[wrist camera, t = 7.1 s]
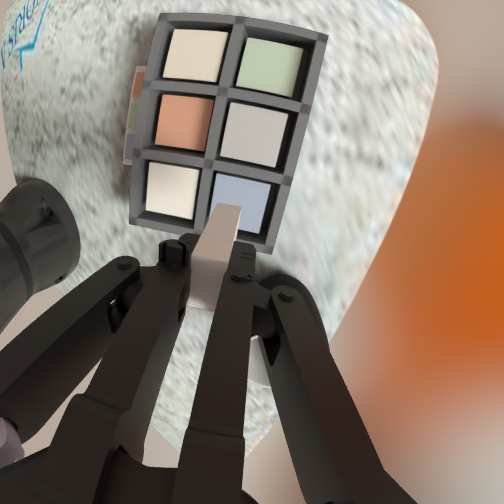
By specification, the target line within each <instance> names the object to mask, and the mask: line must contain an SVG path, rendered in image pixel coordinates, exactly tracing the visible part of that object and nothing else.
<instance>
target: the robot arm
mask: <svg viewBox="0 0 504 504" xmlns="http://www.w3.org/2000/svg"><path fill="white" fill-rule="evenodd" d="M241 208H242V207H240V206H234V205H229V204H223V203H217V205H216V207H215V209H214V211H213V213H212V215H211V217H210V219H209V220H208V222H207V224H206V226H205V228H204V230H203V232H202V234H201V235H197V234H192V233H186V234H184V235H182V236H181V237H180V238H179V240H174V239H171V240H165V241H162V242H161V243H160V244H159V261H158V263H157V265H156V266H149V267H148V266H140V262H139V261H138V259H136V258H134V257H131V256H121V257H117V258H115V259H113V260H112V261H110V262H109V263H108V264H106V265H105V266H103V267H102V268H101V269H99V270H98V271H97V272H95V273H94V274H93V275H91V276H90V277H89V278H87V279H86V280H85V281H83V282H82V283H81V284H79V285H78V286H77V287H75V288H74V289H73V290H71V291H70V292H69V293H68V294H66V295H65V296H64V297H63V298H61V299H60V300H59V301H58V302H56V303H55V304H54V305H53V306H51V307H50V308H49V309H48V310H47V311H45V312H44V313H43V314H42V315H41V316H40V317H38V318H37V319H36V320H35V321H33V322H32V323H31V324H30V325H29V326H28V327H26V328H25V329H24V330H23V331H22V332H21V333H20V334H19V335H17V336H16V337H15V338H14V339H13V340H12V341H11V342H10V343H9V344H7V345H6V346H5V347H4V348H3V349H2V350H1V351H0V504H258V503H257V501H256V500H254V499H253V498H252V497H251V496H250V495H249V494H248V493H246V492H245V491H244V490H242V479H243V466H244V454H245V439H244V437H243V427H244V415H245V404H246V392H247V380H248V367H249V355H250V343H251V333H252V334H255V335H257V336H258V342H259V345H260V349H261V353H262V356H263V360H264V364H265V367H266V371H267V374H268V378H269V382H270V385H271V389H272V392H273V396H274V400H275V403H276V407H277V410H278V414H279V417H280V420H281V424H282V427H283V431H284V434H285V438H286V441H287V445H288V448H289V452H290V455H291V458H292V462H293V465H294V468H295V472H296V475H297V478H298V481H299V485H300V488H301V491H302V494H303V496H304V499H305V501H306V503H307V504H417V503H416V502H415V501H414V500H413V499H412V498H411V497H410V496H409V495H408V494H407V493H406V492H405V491H404V490H403V489H402V488H401V487H400V486H399V485H398V483H397V482H396V481H395V480H394V479H393V478H392V477H390V475H389V474H387V472H386V471H385V470H384V469H383V466H382V464H381V462H380V459H379V457H378V455H377V453H376V450H375V448H374V446H373V444H372V441H371V439H370V437H369V435H368V432H367V430H366V428H365V426H364V423H363V421H362V419H361V417H360V415H359V413H358V411H357V408H356V406H355V404H354V402H353V400H352V397H351V395H350V393H349V391H348V389H347V387H346V385H345V383H344V380H343V378H342V376H341V374H340V372H339V370H338V368H337V366H336V364H335V361H334V359H333V357H332V355H331V353H330V351H329V349H328V347H327V345H326V343H325V341H324V339H323V337H322V335H321V333H320V331H319V329H318V327H317V325H316V322H315V320H314V318H313V316H312V314H311V312H310V310H309V308H308V306H307V304H306V302H305V300H304V298H303V296H302V295H301V294H300V292H299V291H297V290H296V289H294V288H292V287H289V286H283V285H282V286H276V287H274V288H273V289H272V291H271V290H268V289H266V288H264V287H262V286H260V285H259V284H258V283H257V282H256V281H255V276H254V272H255V259H256V248H255V247H254V245H253V244H249V243H244V242H238V241H236V236H237V230H238V225H239V219H240V214H241ZM79 257H80V237H79V232H78V228H77V225H76V222H75V219H74V216H73V214H72V212H71V210H70V208H69V206H68V205H67V203H66V201H65V200H64V199H63V197H62V196H61V195H60V194H59V192H58V191H57V190H56V189H55V188H53V187H52V186H51V185H49V184H48V183H46V182H44V181H42V180H38V179H31V180H28V181H25V182H23V183H21V184H19V185H17V186H16V187H15V188H13V189H12V190H11V191H10V192H9V193H8V194H7V196H6V197H5V198H4V199H3V200H2V201H1V203H0V334H1V332H2V331H3V330H4V328H5V327H6V326H7V325H8V323H9V322H10V321H11V320H12V318H13V317H14V316H15V315H16V313H17V312H18V311H19V310H20V309H21V308H22V306H23V305H24V304H25V303H26V302H27V301H28V300H29V298H30V297H31V296H32V295H34V294H36V293H38V292H40V291H42V290H45V289H47V288H49V287H51V286H53V285H55V284H58V283H60V282H62V281H63V280H65V279H66V278H67V277H68V276H69V275H70V274H71V273H72V272H73V271H74V269H75V268H76V266H77V264H78V261H79ZM113 300H114V302H113V303H111V302H112V301H113ZM187 300H188V306H191V307H196V308H201V309H206V310H211V311H215V312H214V316H213V320H212V325H211V329H210V333H209V337H208V341H207V345H206V350H205V354H204V358H203V362H202V367H201V371H200V376H199V380H198V384H197V389H196V393H195V398H194V402H193V407H192V411H191V416H190V420H189V424H188V427H187V429H186V432H185V435H184V439H183V444H182V448H181V453H180V459H179V463H178V468H161V467H148V466H145V465H143V464H142V461H143V454H144V441H145V437H146V434H147V430H148V427H149V424H150V420H151V417H152V413H153V410H154V407H155V404H156V400H157V397H158V394H159V391H160V387H161V384H162V381H163V378H164V375H165V372H166V369H167V366H168V363H169V360H170V357H171V354H172V351H173V348H174V345H175V342H176V339H177V336H178V333H179V330H180V327H181V324H182V322H183V319H184V316H185V312H186V303H187ZM110 303H111V304H110ZM102 357H103V358H102ZM101 358H102V360H101ZM100 360H101V362H100V364H99V366H98V368H97V370H96V372H95V374H94V376H93V378H92V380H91V382H90V384H89V386H88V388H87V390H86V391H85V392H84V393H83V394H76V395H75V396H73V398H72V399H71V400H70V402H69V404H68V406H67V408H66V410H65V412H64V414H63V416H62V419H61V421H60V423H59V426H58V428H57V430H56V432H55V435H54V437H53V439H52V442H51V444H50V446H48V447H46V448H44V449H42V450H40V451H38V452H36V453H34V454H32V455H29V456H28V457H25V458H23V457H24V450H23V448H22V446H21V444H23V443H25V442H26V441H28V440H29V439H30V438H31V437H33V436H34V435H35V434H36V433H37V432H38V431H39V430H40V429H41V428H42V427H43V426H44V425H45V423H46V422H47V421H48V420H49V419H50V417H51V416H52V415H53V414H54V413H55V411H56V410H57V409H58V408H59V407H60V405H61V404H62V403H63V402H64V401H65V399H66V398H67V397H68V396H69V395H70V394H71V393H72V391H73V390H74V389H75V388H76V387H77V386H78V384H79V383H80V382H81V381H82V380H83V379H84V378H85V376H86V375H87V374H88V373H89V372H90V371H91V370H92V369H93V367H94V366H95V365H96V364H97V363H98V362H99V361H100ZM15 460H18V461H16V462H15Z"/></svg>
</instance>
